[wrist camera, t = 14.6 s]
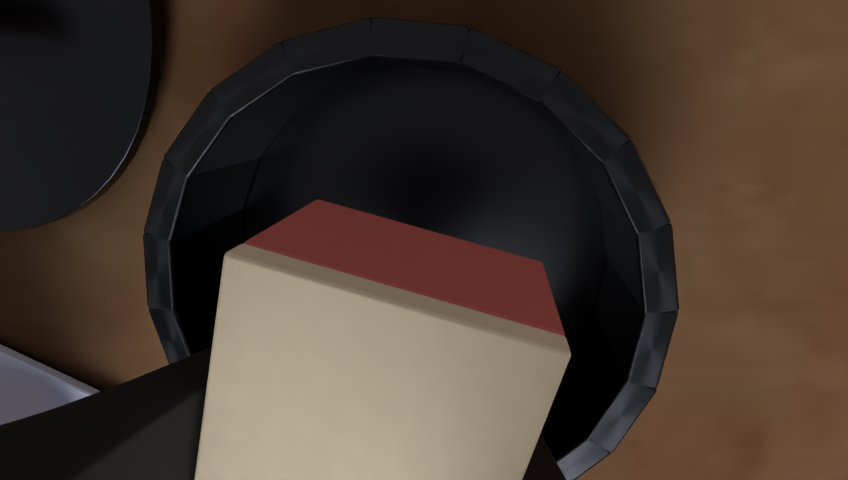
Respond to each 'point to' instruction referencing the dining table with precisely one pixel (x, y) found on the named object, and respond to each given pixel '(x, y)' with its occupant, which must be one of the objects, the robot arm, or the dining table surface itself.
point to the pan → (432, 194)
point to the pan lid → (72, 101)
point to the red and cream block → (377, 355)
